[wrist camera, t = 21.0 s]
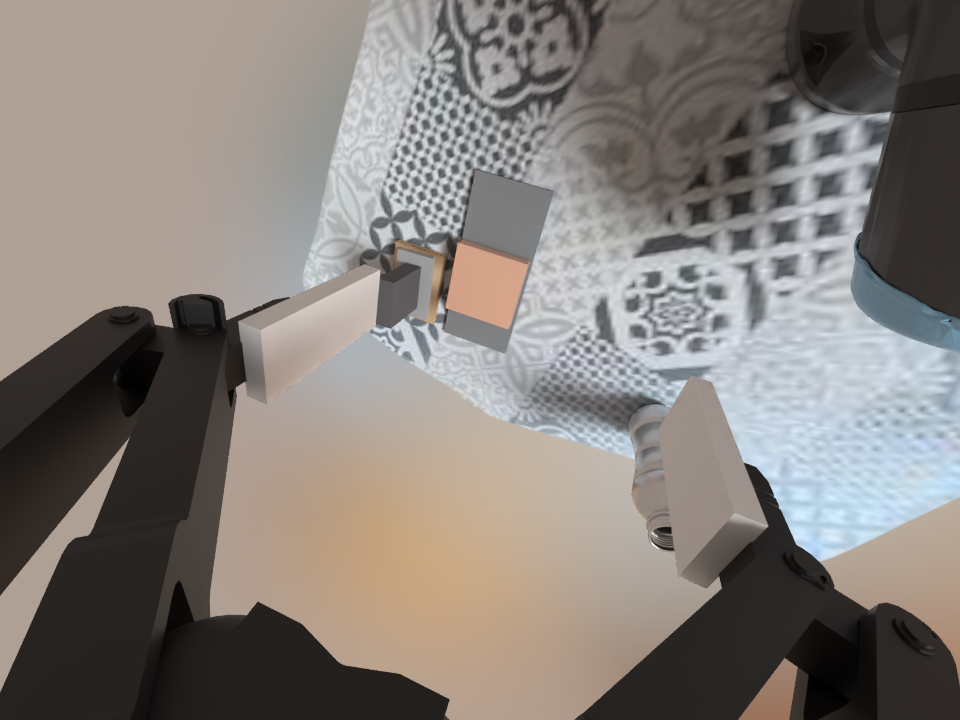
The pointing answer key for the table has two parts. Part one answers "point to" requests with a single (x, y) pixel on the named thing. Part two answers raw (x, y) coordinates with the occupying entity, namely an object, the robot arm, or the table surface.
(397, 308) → the grout float
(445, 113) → the table surface
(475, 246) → the tile
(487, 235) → the mat
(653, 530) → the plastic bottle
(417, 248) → the board
